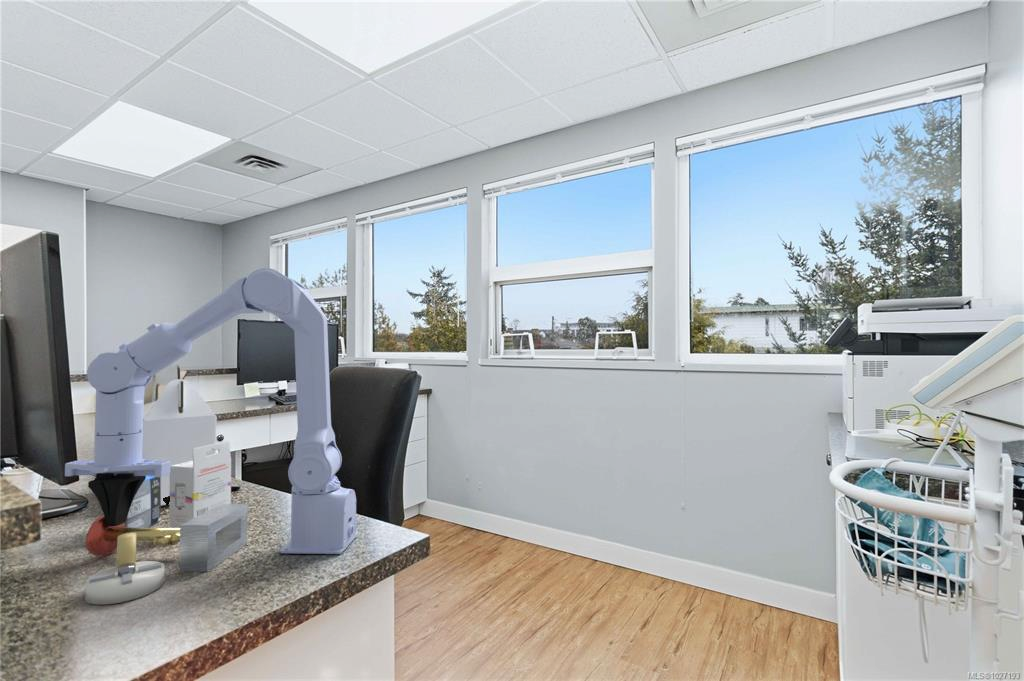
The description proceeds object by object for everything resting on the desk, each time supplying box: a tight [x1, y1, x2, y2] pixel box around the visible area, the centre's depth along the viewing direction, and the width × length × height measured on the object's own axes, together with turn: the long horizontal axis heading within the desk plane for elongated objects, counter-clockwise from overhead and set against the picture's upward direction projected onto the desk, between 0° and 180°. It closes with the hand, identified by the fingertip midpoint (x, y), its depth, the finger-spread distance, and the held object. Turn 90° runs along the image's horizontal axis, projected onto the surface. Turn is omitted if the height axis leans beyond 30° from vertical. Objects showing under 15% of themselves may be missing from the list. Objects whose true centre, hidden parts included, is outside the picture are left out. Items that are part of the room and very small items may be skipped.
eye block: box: [178, 503, 249, 573], centre depth 74 cm, size 4×10×6 cm, turn 179°
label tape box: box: [125, 476, 162, 528], centre depth 85 cm, size 9×4×12 cm, turn 5°
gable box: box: [142, 364, 218, 507], centre depth 109 cm, size 22×13×28 cm, turn 49°
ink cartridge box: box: [168, 440, 232, 528], centre depth 86 cm, size 9×5×15 cm, turn 168°
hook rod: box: [85, 514, 180, 556], centre depth 74 cm, size 13×6×6 cm, turn 89°
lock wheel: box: [84, 533, 166, 606], centre depth 64 cm, size 8×8×6 cm
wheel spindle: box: [118, 563, 136, 576], centre depth 63 cm, size 2×2×1 cm
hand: (116, 524), depth 74 cm, fingers closed
